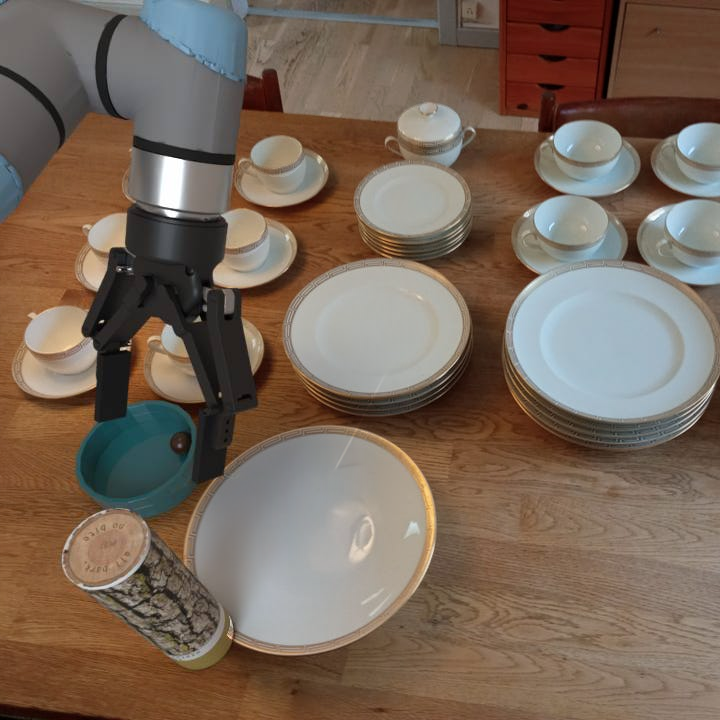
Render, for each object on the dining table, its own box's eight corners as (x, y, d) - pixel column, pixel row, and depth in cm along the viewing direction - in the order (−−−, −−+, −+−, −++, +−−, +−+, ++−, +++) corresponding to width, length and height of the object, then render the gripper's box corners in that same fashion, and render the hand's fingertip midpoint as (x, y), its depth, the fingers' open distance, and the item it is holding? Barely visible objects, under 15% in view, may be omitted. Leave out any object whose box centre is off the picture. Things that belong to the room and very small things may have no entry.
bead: (169, 455, 92) (161, 443, 90) (183, 436, 94) (174, 423, 91) (190, 462, 91) (181, 450, 89) (203, 442, 93) (195, 430, 91)
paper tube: (235, 665, 77) (143, 579, 57) (169, 676, 77) (54, 594, 57) (237, 602, 81) (152, 502, 62) (175, 612, 81) (69, 514, 61)
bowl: (67, 499, 90) (49, 482, 86) (136, 407, 98) (123, 388, 94) (166, 534, 87) (151, 518, 83) (229, 436, 95) (218, 417, 91)
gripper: (326, 249, 56) (288, 492, 62) (127, 177, 67) (111, 389, 73) (250, 251, 50) (216, 521, 56) (44, 171, 61) (34, 404, 67)
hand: (156, 447), depth 65 cm, fingers open, 13 cm apart
